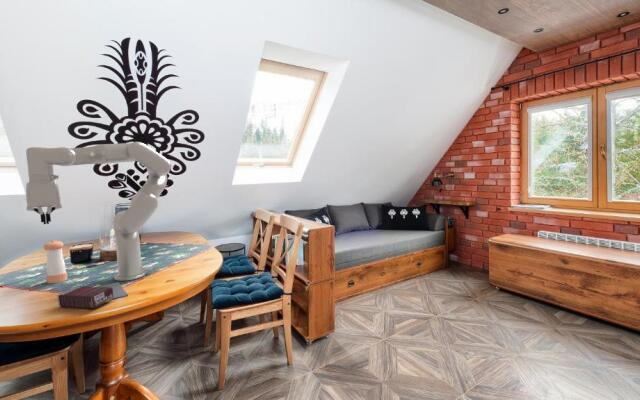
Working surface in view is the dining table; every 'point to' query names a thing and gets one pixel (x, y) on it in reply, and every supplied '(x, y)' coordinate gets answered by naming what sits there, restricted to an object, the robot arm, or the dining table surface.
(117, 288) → the mat
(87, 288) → the supplement box
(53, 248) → the pepper shaker
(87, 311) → the dining table surface
